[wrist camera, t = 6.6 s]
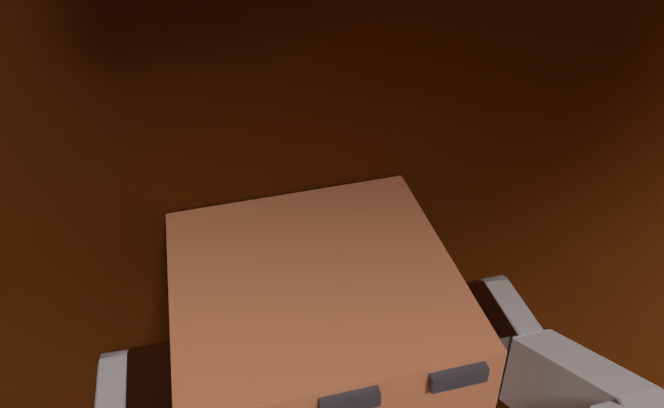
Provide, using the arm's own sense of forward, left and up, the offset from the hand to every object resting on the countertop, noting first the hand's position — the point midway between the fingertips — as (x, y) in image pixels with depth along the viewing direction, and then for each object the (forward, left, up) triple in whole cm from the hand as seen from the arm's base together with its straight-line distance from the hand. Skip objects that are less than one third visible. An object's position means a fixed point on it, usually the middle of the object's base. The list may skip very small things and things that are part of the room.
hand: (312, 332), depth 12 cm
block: (0, 0, -2) cm, 2 cm away
